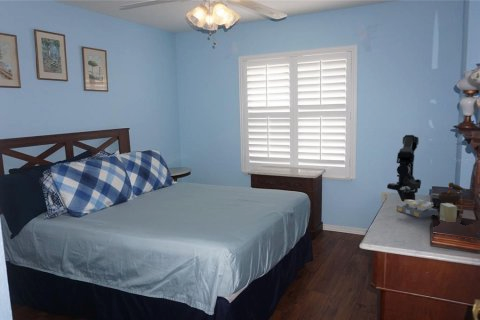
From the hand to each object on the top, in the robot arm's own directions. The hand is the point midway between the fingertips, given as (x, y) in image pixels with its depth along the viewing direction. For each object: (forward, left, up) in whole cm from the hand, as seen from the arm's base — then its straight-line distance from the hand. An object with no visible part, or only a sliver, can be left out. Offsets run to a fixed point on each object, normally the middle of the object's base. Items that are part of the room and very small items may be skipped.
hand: (402, 201), depth 199 cm
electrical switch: (+7, +20, -6) cm, 23 cm away
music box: (+23, +6, -6) cm, 24 cm away
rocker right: (+11, +4, -1) cm, 12 cm away
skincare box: (+32, -7, -6) cm, 34 cm away
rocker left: (0, +4, -1) cm, 4 cm away
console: (+5, +4, -6) cm, 9 cm away
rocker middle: (+5, +4, -1) cm, 7 cm away
